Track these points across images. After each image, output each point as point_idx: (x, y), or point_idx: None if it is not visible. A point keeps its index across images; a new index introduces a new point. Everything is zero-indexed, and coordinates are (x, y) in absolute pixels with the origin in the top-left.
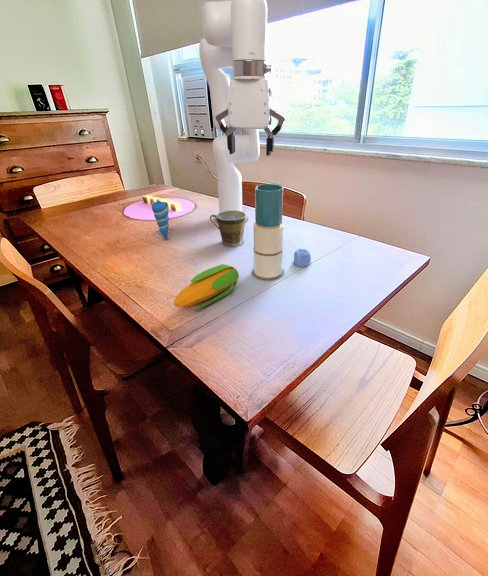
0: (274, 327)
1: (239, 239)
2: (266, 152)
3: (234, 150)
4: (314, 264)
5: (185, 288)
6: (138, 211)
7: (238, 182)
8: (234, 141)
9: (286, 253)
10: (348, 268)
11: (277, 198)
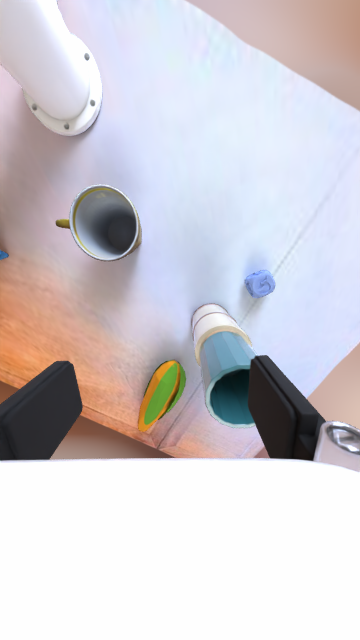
0: None
1: (140, 243)
2: (252, 415)
3: (70, 381)
4: (275, 280)
5: (141, 421)
6: None
7: None
8: (39, 409)
9: (228, 253)
10: (327, 280)
11: None
